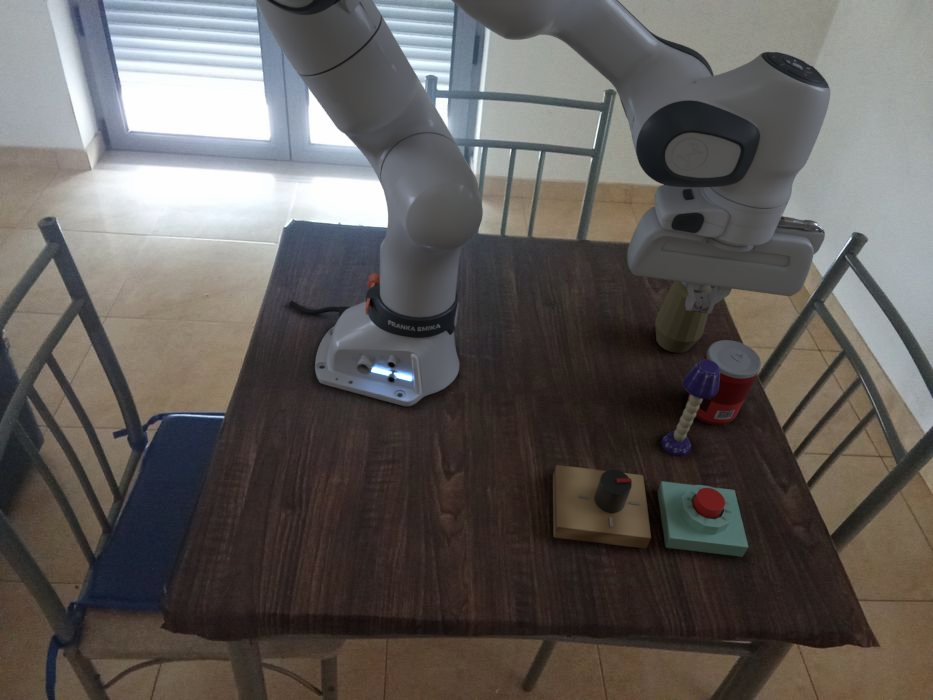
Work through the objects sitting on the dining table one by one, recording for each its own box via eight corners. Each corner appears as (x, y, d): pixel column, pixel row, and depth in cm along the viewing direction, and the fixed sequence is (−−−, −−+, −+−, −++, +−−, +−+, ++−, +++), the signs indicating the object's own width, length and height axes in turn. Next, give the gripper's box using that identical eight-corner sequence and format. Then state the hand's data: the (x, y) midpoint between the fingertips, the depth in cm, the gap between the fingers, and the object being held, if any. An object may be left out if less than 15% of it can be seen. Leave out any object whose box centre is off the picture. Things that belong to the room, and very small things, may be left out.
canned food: (744, 408, 112) (770, 357, 104) (721, 435, 107) (746, 383, 100) (701, 383, 115) (723, 332, 108) (676, 407, 111) (698, 356, 103)
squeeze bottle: (655, 357, 119) (686, 269, 107) (644, 326, 125) (673, 239, 113) (702, 359, 120) (738, 272, 108) (689, 328, 126) (722, 242, 114)
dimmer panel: (553, 537, 91) (556, 526, 90) (552, 475, 99) (556, 463, 97) (646, 549, 91) (651, 537, 89) (638, 486, 99) (643, 474, 97)
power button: (695, 516, 91) (699, 508, 90) (690, 494, 94) (694, 485, 93) (723, 520, 91) (727, 512, 90) (718, 497, 94) (722, 489, 93)
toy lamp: (690, 462, 103) (728, 381, 91) (658, 456, 103) (692, 373, 92) (689, 438, 106) (726, 356, 95) (658, 431, 107) (691, 349, 95)
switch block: (665, 547, 92) (673, 530, 89) (657, 491, 98) (664, 473, 96) (742, 557, 92) (753, 539, 89) (729, 499, 98) (738, 482, 96)
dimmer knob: (598, 514, 92) (605, 493, 89) (591, 488, 94) (597, 468, 92) (628, 512, 92) (636, 492, 89) (620, 487, 95) (627, 467, 92)
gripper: (823, 208, 80) (775, 304, 89) (643, 184, 80) (614, 282, 89) (840, 239, 75) (787, 337, 85) (649, 213, 75) (617, 314, 85)
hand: (697, 309), depth 87 cm, fingers closed
